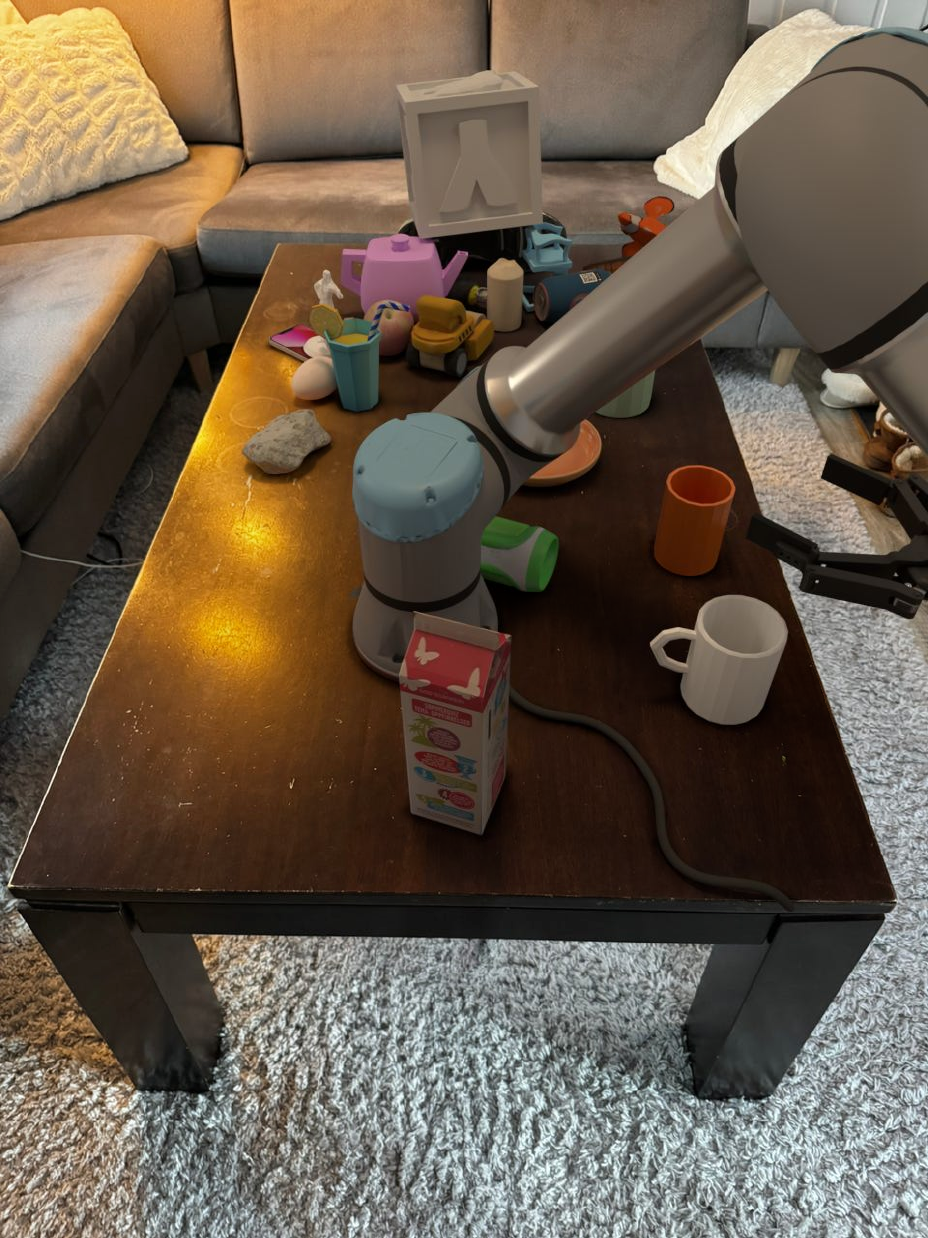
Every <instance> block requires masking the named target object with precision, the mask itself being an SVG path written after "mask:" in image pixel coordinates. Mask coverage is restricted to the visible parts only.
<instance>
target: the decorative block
mask: <svg viewBox="0 0 928 1238" xmlns="http://www.w3.org/2000/svg"><path fill="white" fill-rule="evenodd" d="M395 90H396V92H395V93H396V98H397V108H398V117H399V125H400V133H401V134H400V135H401V136H400V137H401V143H402V153H403V161H404V170H405V179H406V188H407V195H408V196H407V197H408V205H409V211H410V214H411V218H413V220H414V223H415V226H416V229H417V232H418V235H419V238H420V239H423V238H431V237H439V236H447V235H455V234H463V233H471V232H479V231H487V230H495V229H503V228H511V227H519V226H527V225H535V224H543V212H544V211H543V182H542V180H543V178H542V147H541V145H542V144H541V120H540V119H541V114H540V113H541V112H540V111H541V110H540V86H538V85H537V84H535V83H534V82H533V81H531V80H530V79H528V78H527V77H525V76H523V75H522V74H520V73H519V72H518V71H516V70H514V71H505V72H496V71H495V70H483V71H479V72H476V73H474V74H472V75H470V76H461V77H454V78H446V79H435V80H428V81H427V80H426V81H419V82H412V83H411V82H410V83H402V84H395Z"/></svg>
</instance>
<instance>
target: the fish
mask: <svg viewBox="0 0 928 1238" xmlns="http://www.w3.org/2000/svg"><path fill="white" fill-rule="evenodd" d="M643 209H644V212H645V214H646V217H643V216H639V215H638V214H636V213H632V212H629V213H627V212H621V213H619V214H618V213H617V220H618V222H619V224H620V225H619V226H620V231H621V232H622V233H623V234H624V235H625V236H629V237H630V238H631V239H632V241H630V242H627V243H624V244H623V245H622V247H621V257H628V256H634V255H635V254H636V253H637V252H638V251H640V250H641V249H642V248H643V247H644V246H645V245H647V244H648V243H649V242H650V241H651V240H652V239H654V238H655V237H656V236H657V235H658V234H659V233H661V232H662V231H663V230H664V229H665V228H666V227H668V226H669V225H667V224H665V223H663V222H661V221H659V220H658V218H661V217H664V216H667V215H668V214H670V213H672V212H674V209H675V202H674V201H673V199H672V198H669V197H668V196H662V195H661V196H654V197H652V198H649V200H647V201H645V202H644V204H643Z"/></svg>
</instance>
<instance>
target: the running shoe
mask: <svg viewBox="0 0 928 1238" xmlns="http://www.w3.org/2000/svg"><path fill="white" fill-rule="evenodd" d="M543 222H546V223H549V224H552V225H555V226H559V227H563V228H562V231H561V233H560V236H561V237H563V238H566V239H568V235H567V230H566V229H567V228H566V227H565V226H564V225H563V224H562V223H561V221H559V219H557V218H556V217H555V216H553V215H552V214H550V213H547V212H546V211H543ZM529 226H531V225H527V226H519V227H511V228H503V229H495V230H487V231H479V232H471V233H463V234H455V235H447V236H439V237H431V238H430V239H432V240H433V241H434V244H435V246H436V249H437V252H438V255H439V258H440V262H441V266H442V268H443V267H447V266H448V264H449V263H450V262H451V260H452V259H453V258H454V256H455V255H456V254H457V253H458V251H462V252H468V257H467V259H466V260H468V259H469V260H480V261H481V260H482V261H488V262H490V263H491V264H492V265H493V264H494V263H496V262H497V261H498V260H499V259H500V258H504V259H506V260H508V261H511V260H515V261H516V263H517V264H518V265H519V266H520V267H521V268H522V269H523V274H526V273H534V272H533V271H532V270H531V268H530V266H529V264H528V263H527V261H526V260H525V259H524V258H523V256H522V250H526V248H527V239H526V234H525V229H526V228H527V227H529ZM538 233H539V234H556V233H555V232H553V231H551V230H547V229H542V230H539V231H538ZM397 234H405V235H408V236H411V237H419V235H418V232H417V229H416V226H415V223H414V220H413V217H410V218H408V219H406V220H405V221H404V222H403V224H402V225H401V226H400V227H399V229H398V231H397ZM531 242H532V240H531ZM559 246H560V247H561V248H562V249H563V251H564V249H565V247H566V246H565V245H562V244H559ZM550 247H554V243H553V244H549V245H547V246H545V247H543V248H541V249H545V248H550ZM532 249H535V248H534V244H533V242H532Z"/></svg>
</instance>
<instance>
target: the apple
mask: <svg viewBox="0 0 928 1238" xmlns="http://www.w3.org/2000/svg"><path fill="white" fill-rule="evenodd" d="M385 301H388V302H393V303H398V304H401V303H399V302H396V301H392V300H382V301H379V302H377V303H375V304H374V305H372V306H371V307H370V308H369V309H368V310H367V312H366V314H365V313H364V315H363V316H364V317H363V320H366V321H370V322H373V320H374V317H375V314H376V310H377V307H378V306H379V305H380V304H381V303H383V302H385ZM414 326H415V323H414V320H413V317H412V314H411V312H410V311H408V312H405V311H400V310H394V309H389V308H385V309H384V310H383V312H382V316H381V319H380V322H379V325H378V329H379V330H380V332H381V340H380V341H379V356H382V357H391V356H392V357H394V356H398V355H399V354H402V352H403V351H405V350H406V349H407V348H408V345H409V342H410V341H411V340H412V337H411V333H412V330H413V327H414Z"/></svg>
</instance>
